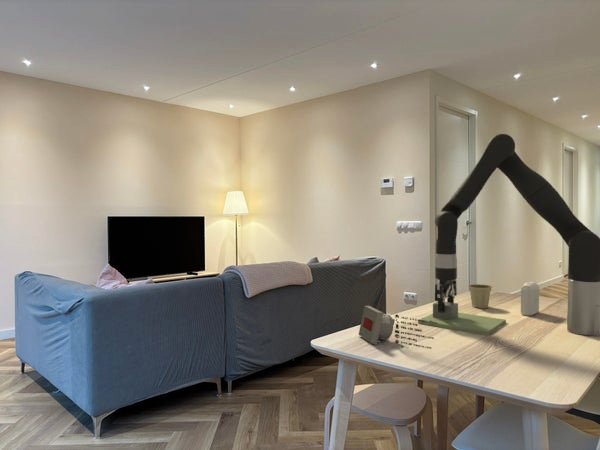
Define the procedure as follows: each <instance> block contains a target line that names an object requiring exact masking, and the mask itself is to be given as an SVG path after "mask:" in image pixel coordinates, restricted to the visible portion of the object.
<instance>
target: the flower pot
mask: <svg viewBox="0 0 600 450" xmlns="http://www.w3.org/2000/svg"><path fill="white" fill-rule="evenodd" d="M467 287H468V290H469V293H470V300H471V306H472V307H473V308H479V309H487V308H489V304H490V296H491V291H492V289H493V286H492V285H488V284H480V283H479V284H477V283H476V284H468V285H467Z"/></svg>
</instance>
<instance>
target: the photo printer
mask: <svg viewBox="0 0 600 450" xmlns="http://www.w3.org/2000/svg"><path fill="white" fill-rule="evenodd" d="M539 312H540V286H539V284H538V283H537V282H536V281H527V282H525V283H524V284H523V285H522V286H521V290H520V314H521V315H522V316H527V317H529V316H533V315H536V314H538V313H539Z"/></svg>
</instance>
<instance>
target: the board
mask: <svg viewBox="0 0 600 450" xmlns="http://www.w3.org/2000/svg"><path fill="white" fill-rule="evenodd" d="M418 319H419V320H425V321H424V322H421V321H417V324H420V325H426V326H432V327H436V328H442V329H450V330H455V331H461V332H466V333H473V334H478V335H483V336H489V335H491V334H492V333H494V332H495V331H497V330H498V329H499V328H500V327H502V326H504V325H505V324H506V323H507V319H505V318H496V317H491V316H484V315H479V314H478V315H477V314H471V313H470V314H469V313H464V312H458V317H457V318H455V319H453V320H447V319H441V318H435V317H433V313H430V314H429V315H426V316H424V317H421V318H418ZM430 320H431V321H432V322H433V324H432V323H429V321H430ZM431 321H430V322H431ZM435 322H436V323H435Z"/></svg>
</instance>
